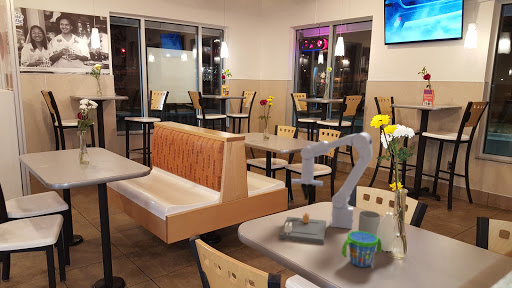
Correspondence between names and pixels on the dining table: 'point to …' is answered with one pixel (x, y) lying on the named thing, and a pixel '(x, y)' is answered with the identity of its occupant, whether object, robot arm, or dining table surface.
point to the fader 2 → (306, 218)
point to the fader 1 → (288, 227)
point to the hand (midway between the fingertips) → (306, 199)
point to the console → (305, 230)
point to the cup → (369, 222)
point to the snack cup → (361, 247)
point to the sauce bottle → (386, 230)
